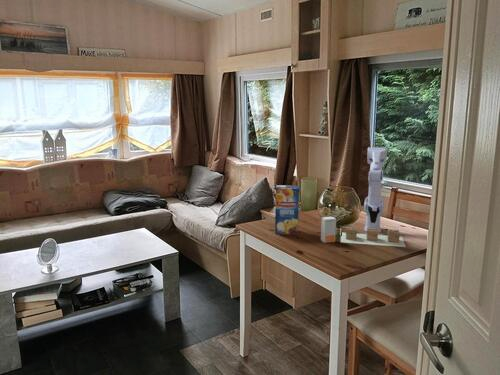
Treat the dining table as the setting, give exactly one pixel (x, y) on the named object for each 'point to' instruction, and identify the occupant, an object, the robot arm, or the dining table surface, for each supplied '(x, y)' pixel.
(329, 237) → the skincare box
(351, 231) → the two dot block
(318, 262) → the dining table surface
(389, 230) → the one dot block
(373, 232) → the plain block
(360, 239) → the sage mat
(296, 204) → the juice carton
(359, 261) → the dining table surface
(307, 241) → the dining table surface
